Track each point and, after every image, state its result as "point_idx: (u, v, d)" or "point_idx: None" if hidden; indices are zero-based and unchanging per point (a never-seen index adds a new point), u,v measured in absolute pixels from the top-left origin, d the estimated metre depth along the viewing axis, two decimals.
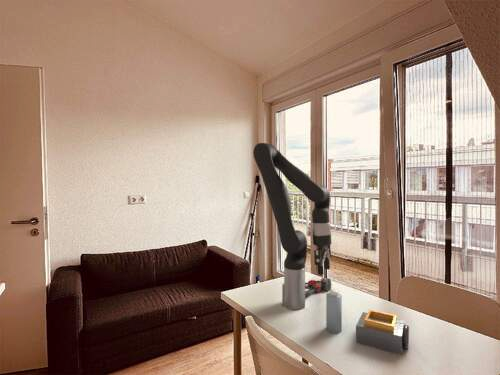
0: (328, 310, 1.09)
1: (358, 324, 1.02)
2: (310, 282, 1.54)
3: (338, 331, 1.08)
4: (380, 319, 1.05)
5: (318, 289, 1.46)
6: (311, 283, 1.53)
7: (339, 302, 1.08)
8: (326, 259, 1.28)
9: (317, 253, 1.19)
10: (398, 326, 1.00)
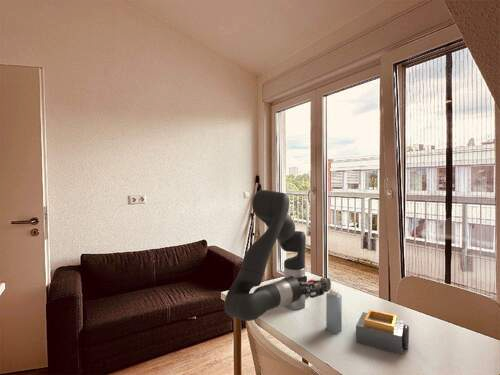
0: (328, 310, 1.09)
1: (358, 324, 1.02)
2: (310, 282, 1.54)
3: (338, 331, 1.08)
4: (380, 319, 1.05)
5: None
6: None
7: (339, 302, 1.08)
8: None
9: None
10: (398, 326, 1.00)
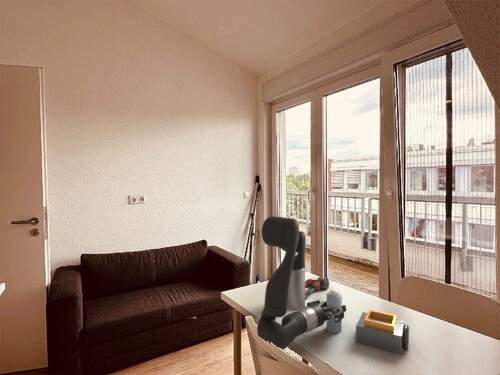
0: None
1: (358, 324, 1.02)
2: (308, 281, 1.55)
3: (338, 331, 1.08)
4: (380, 319, 1.05)
5: (317, 288, 1.47)
6: (309, 282, 1.55)
7: (339, 302, 1.08)
8: None
9: None
10: (398, 326, 1.00)
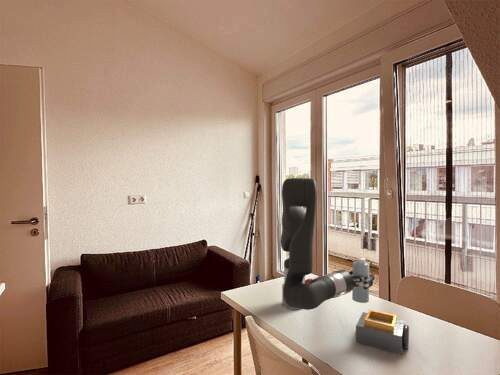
0: None
1: (358, 324, 1.02)
2: (307, 281, 1.56)
3: (365, 301, 1.02)
4: (380, 319, 1.05)
5: None
6: (308, 282, 1.55)
7: (367, 270, 1.02)
8: None
9: None
10: (398, 326, 1.00)
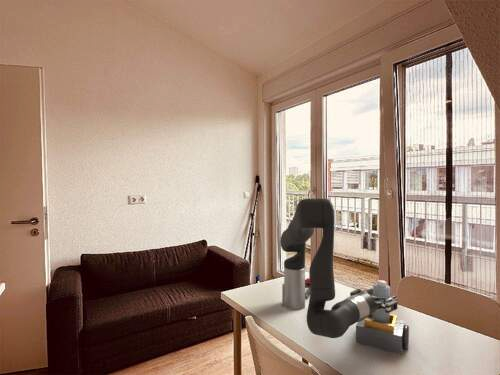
0: None
1: (358, 324, 1.02)
2: (307, 281, 1.56)
3: None
4: None
5: None
6: (308, 282, 1.56)
7: (388, 294, 1.00)
8: None
9: None
10: (398, 326, 1.00)
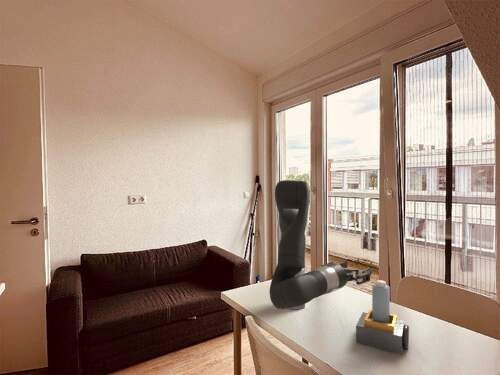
0: (375, 302, 1.01)
1: (358, 324, 1.02)
2: None
3: None
4: None
5: None
6: None
7: (387, 294, 1.00)
8: None
9: None
10: (398, 326, 1.00)
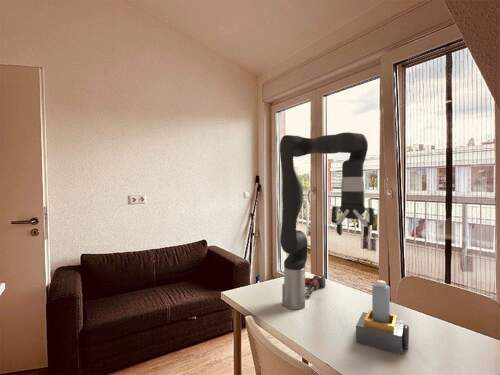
0: (375, 302, 1.01)
1: (358, 324, 1.02)
2: (305, 280, 1.57)
3: None
4: None
5: (317, 286, 1.50)
6: (306, 281, 1.57)
7: (388, 294, 1.00)
8: None
9: None
10: (398, 326, 1.00)
